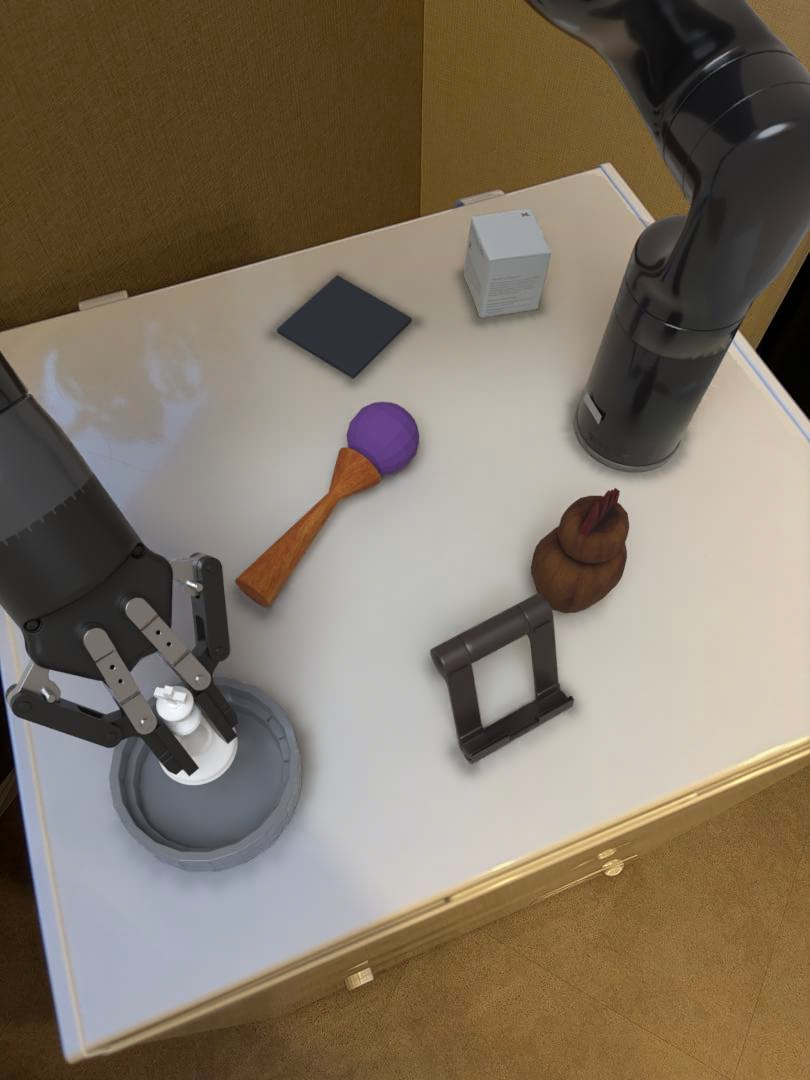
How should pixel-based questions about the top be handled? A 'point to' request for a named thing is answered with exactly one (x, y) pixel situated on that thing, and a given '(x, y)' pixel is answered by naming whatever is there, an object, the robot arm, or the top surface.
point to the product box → (506, 262)
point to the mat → (344, 326)
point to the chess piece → (193, 736)
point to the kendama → (338, 491)
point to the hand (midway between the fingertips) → (209, 751)
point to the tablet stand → (484, 640)
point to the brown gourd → (582, 554)
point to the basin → (213, 790)
